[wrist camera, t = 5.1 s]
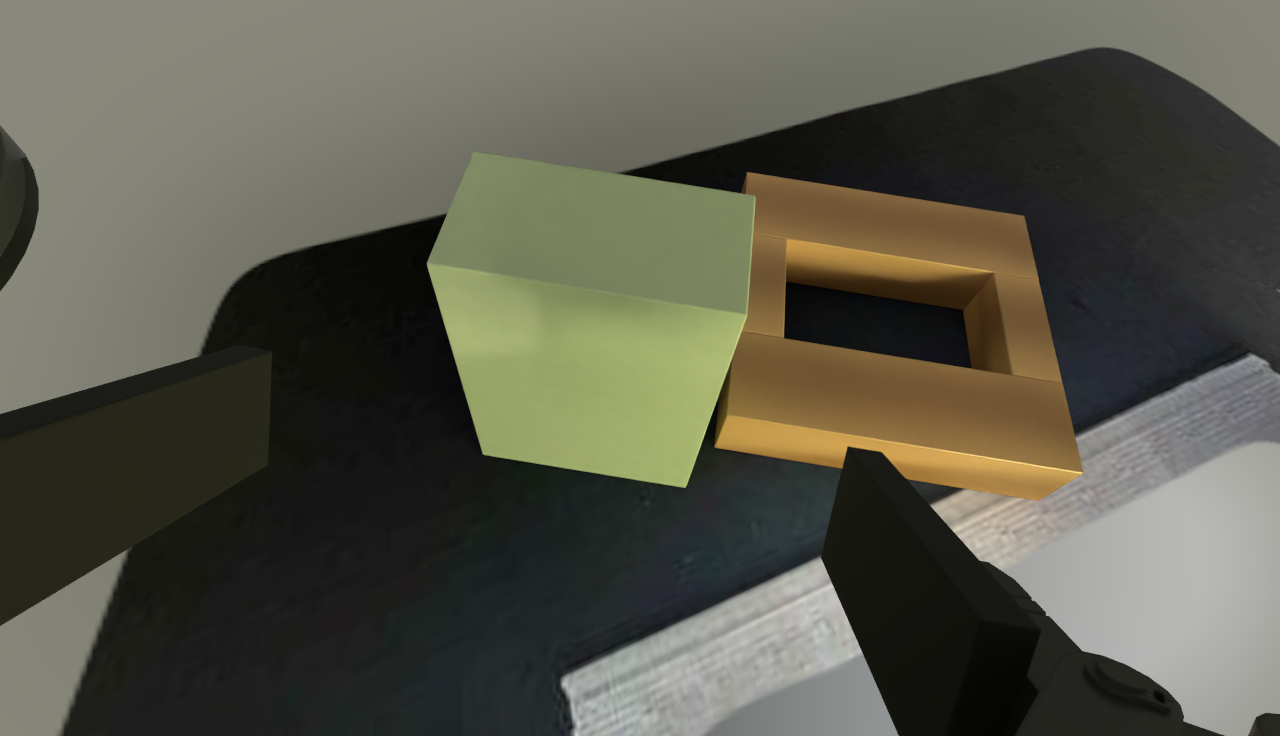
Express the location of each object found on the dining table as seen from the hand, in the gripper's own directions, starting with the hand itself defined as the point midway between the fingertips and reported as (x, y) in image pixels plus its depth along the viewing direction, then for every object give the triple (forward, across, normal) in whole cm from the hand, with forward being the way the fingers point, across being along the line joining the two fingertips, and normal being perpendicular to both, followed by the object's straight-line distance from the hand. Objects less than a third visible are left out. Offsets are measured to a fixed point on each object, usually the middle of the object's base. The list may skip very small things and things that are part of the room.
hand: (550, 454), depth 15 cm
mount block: (+18, +12, +1) cm, 22 cm away
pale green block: (+13, 0, -4) cm, 14 cm away
